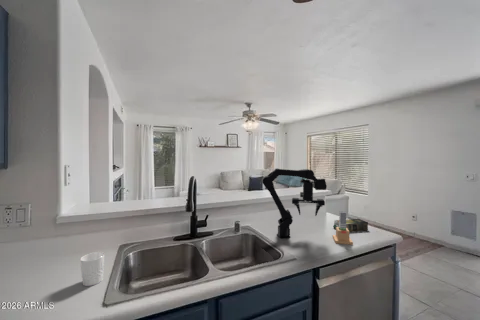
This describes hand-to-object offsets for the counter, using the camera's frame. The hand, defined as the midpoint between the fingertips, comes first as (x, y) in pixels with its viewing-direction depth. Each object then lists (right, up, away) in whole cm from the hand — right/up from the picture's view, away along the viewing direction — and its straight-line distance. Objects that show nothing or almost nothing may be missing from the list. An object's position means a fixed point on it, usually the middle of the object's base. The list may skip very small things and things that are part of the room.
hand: (307, 215), depth 135 cm
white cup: (-100, -15, -47) cm, 111 cm away
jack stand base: (+18, -13, -6) cm, 23 cm away
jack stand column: (+18, -8, -7) cm, 21 cm away
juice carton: (+33, -13, +14) cm, 38 cm away
